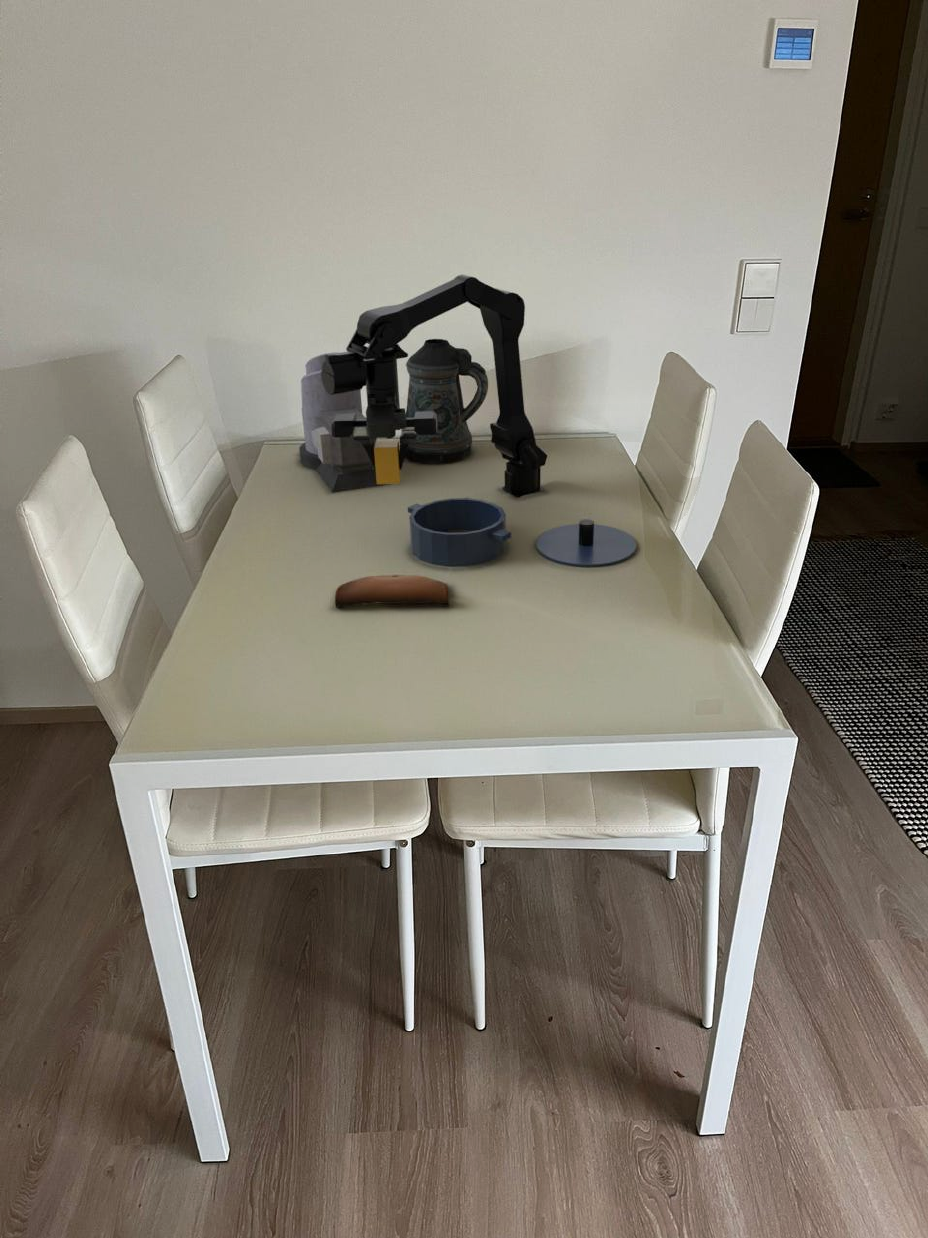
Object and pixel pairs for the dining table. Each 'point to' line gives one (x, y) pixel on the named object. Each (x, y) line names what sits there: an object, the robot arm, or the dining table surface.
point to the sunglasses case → (391, 590)
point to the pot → (457, 547)
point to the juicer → (328, 455)
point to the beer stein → (442, 400)
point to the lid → (586, 545)
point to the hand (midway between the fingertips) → (388, 469)
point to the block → (387, 461)
